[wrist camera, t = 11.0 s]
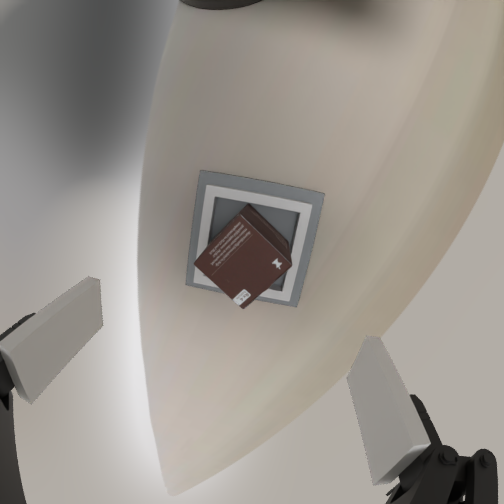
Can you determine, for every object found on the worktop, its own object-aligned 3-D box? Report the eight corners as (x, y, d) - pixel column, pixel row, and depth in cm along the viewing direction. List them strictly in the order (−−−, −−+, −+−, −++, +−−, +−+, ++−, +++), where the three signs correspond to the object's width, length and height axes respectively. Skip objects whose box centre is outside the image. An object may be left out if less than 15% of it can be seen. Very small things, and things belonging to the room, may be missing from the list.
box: (249, 201, 29) (241, 211, 22) (290, 242, 30) (295, 265, 23) (209, 241, 30) (190, 263, 23) (249, 279, 31) (242, 311, 24)
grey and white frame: (201, 170, 29) (196, 170, 27) (323, 193, 28) (327, 195, 26) (187, 283, 33) (181, 290, 31) (296, 304, 32) (297, 313, 30)
